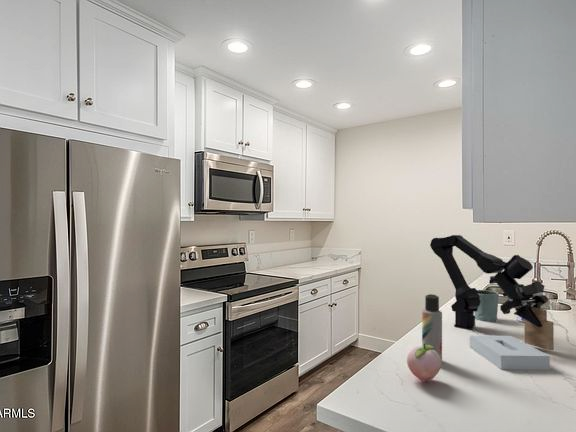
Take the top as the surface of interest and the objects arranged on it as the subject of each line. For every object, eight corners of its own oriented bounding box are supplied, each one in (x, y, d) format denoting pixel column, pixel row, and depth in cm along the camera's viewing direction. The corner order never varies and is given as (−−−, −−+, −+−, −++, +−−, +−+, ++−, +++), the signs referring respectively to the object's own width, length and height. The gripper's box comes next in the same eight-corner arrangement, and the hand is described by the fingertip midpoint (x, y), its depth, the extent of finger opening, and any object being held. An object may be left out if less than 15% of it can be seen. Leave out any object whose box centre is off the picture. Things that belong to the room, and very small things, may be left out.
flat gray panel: (469, 347, 120) (469, 335, 120) (510, 347, 120) (510, 335, 120) (500, 369, 102) (500, 355, 102) (549, 369, 102) (549, 355, 102)
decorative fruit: (414, 371, 101) (414, 336, 101) (444, 379, 96) (444, 342, 96) (401, 382, 93) (401, 344, 94) (433, 392, 88) (433, 352, 88)
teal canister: (501, 319, 155) (501, 292, 156) (495, 324, 148) (495, 295, 148) (476, 315, 162) (476, 288, 162) (469, 319, 155) (469, 292, 155)
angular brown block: (524, 342, 121) (524, 306, 121) (528, 342, 122) (528, 305, 122) (549, 350, 114) (549, 311, 114) (553, 349, 115) (553, 311, 115)
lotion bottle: (441, 358, 110) (441, 294, 111) (442, 365, 105) (442, 297, 105) (421, 355, 112) (421, 292, 113) (422, 362, 107) (422, 296, 107)
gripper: (509, 274, 118) (544, 316, 108) (543, 271, 126) (579, 310, 116) (487, 293, 125) (518, 334, 115) (520, 289, 133) (552, 327, 123)
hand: (543, 326), depth 117 cm, fingers closed on angular brown block, 2 cm apart
